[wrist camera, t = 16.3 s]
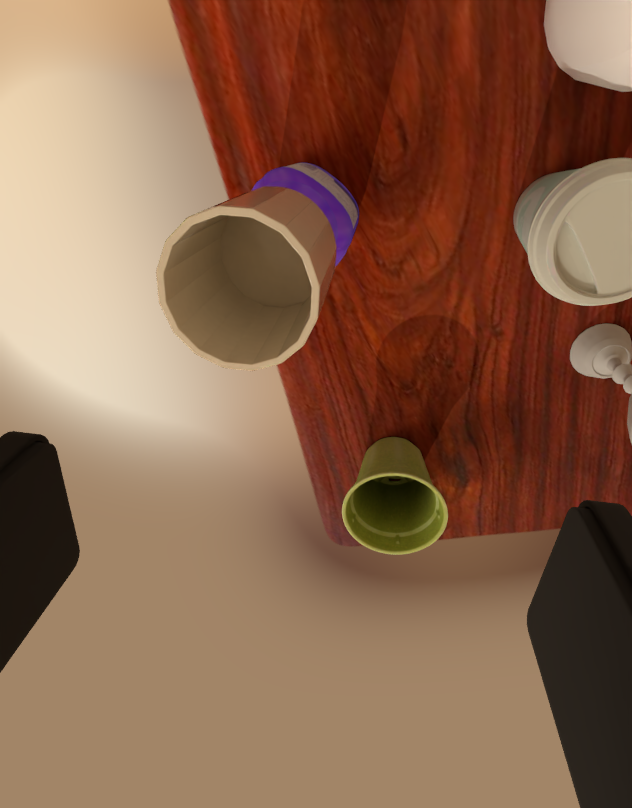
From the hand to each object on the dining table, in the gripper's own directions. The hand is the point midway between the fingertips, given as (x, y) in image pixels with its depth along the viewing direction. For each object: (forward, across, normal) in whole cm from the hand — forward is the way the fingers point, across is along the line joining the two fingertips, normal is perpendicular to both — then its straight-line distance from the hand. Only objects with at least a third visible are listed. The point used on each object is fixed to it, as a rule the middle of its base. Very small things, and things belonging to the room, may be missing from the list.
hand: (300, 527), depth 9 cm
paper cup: (+19, +4, -1) cm, 19 cm away
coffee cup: (+36, -15, -2) cm, 39 cm away
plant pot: (+36, -6, +23) cm, 44 cm away
